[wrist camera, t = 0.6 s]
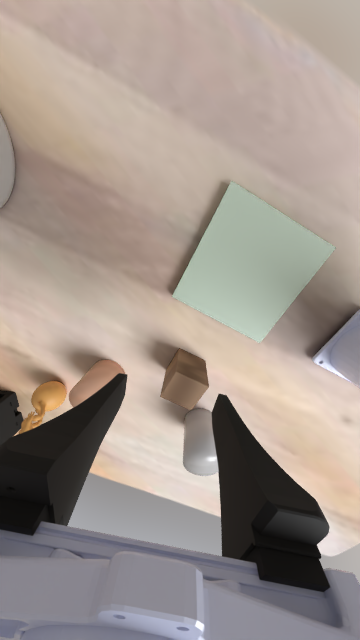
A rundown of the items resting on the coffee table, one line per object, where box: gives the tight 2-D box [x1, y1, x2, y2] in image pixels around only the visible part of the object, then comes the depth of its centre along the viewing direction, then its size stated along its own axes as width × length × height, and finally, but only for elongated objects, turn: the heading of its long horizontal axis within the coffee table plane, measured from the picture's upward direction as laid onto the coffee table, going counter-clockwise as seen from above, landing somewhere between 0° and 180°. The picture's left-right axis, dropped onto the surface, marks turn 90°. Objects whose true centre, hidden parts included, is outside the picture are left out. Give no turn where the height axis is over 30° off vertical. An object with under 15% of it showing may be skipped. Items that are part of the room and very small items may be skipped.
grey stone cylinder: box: [183, 409, 219, 476], centre depth 24 cm, size 5×5×6 cm
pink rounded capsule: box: [69, 360, 125, 407], centre depth 22 cm, size 5×5×5 cm
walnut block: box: [160, 348, 209, 410], centre depth 21 cm, size 4×4×5 cm
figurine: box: [19, 381, 67, 434], centre depth 21 cm, size 8×6×12 cm
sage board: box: [172, 181, 336, 343], centre depth 18 cm, size 12×12×1 cm
